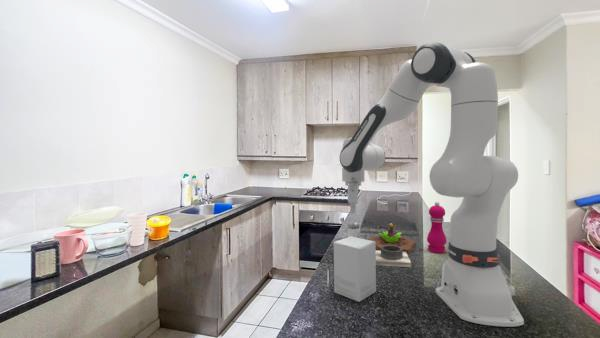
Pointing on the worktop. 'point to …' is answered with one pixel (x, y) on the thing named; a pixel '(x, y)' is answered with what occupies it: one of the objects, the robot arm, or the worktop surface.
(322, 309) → the worktop surface
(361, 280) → the supplement box
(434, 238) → the pepper mill
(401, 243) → the plant
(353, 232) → the frosted cylinder in socket
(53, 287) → the worktop surface
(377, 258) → the duct board
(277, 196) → the worktop surface
